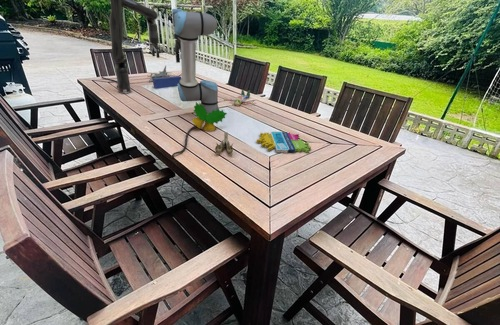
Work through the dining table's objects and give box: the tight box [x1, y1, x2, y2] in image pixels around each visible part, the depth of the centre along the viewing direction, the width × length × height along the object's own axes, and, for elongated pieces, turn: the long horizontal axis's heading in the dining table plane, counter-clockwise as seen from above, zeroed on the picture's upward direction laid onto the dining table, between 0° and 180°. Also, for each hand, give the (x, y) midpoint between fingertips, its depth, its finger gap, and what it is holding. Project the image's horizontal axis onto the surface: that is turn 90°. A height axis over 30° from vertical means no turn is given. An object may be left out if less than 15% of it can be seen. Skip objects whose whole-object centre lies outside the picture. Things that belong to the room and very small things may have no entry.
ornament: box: [191, 101, 228, 132], centre depth 162 cm, size 21×8×15 cm, turn 105°
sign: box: [256, 131, 312, 154], centre depth 152 cm, size 26×2×30 cm
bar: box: [152, 75, 182, 90], centre depth 248 cm, size 27×5×8 cm, turn 133°
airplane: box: [146, 65, 176, 83], centre depth 274 cm, size 38×31×10 cm
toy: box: [223, 89, 257, 106], centre depth 219 cm, size 28×7×30 cm
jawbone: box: [214, 131, 234, 156], centre depth 136 cm, size 9×15×10 cm
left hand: (155, 57), depth 231 cm, fingers open, 8 cm apart
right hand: (180, 64), depth 201 cm, fingers open, 13 cm apart
